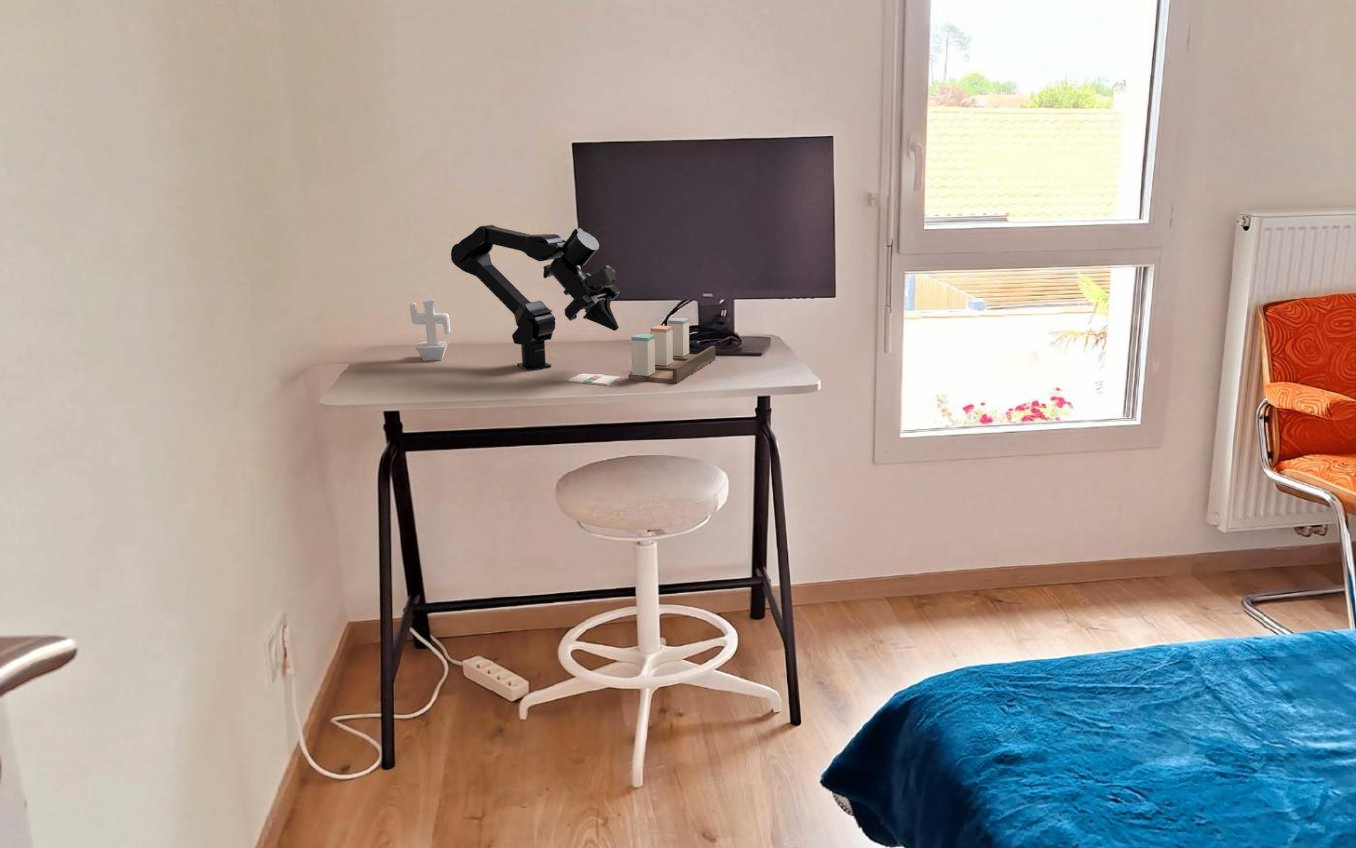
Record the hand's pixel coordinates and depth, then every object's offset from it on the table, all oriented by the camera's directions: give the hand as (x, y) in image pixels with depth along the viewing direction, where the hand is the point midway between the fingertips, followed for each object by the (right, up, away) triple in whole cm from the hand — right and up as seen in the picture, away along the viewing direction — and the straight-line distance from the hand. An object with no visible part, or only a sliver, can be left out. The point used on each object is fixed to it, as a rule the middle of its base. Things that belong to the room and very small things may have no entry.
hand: (616, 329), depth 225 cm
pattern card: (-5, -12, 0) cm, 13 cm away
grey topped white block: (+14, -4, +20) cm, 25 cm away
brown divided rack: (+13, -9, +10) cm, 18 cm away
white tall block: (+6, -10, 0) cm, 12 cm away
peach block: (+10, -7, +10) cm, 16 cm away
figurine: (-48, -5, +23) cm, 53 cm away
